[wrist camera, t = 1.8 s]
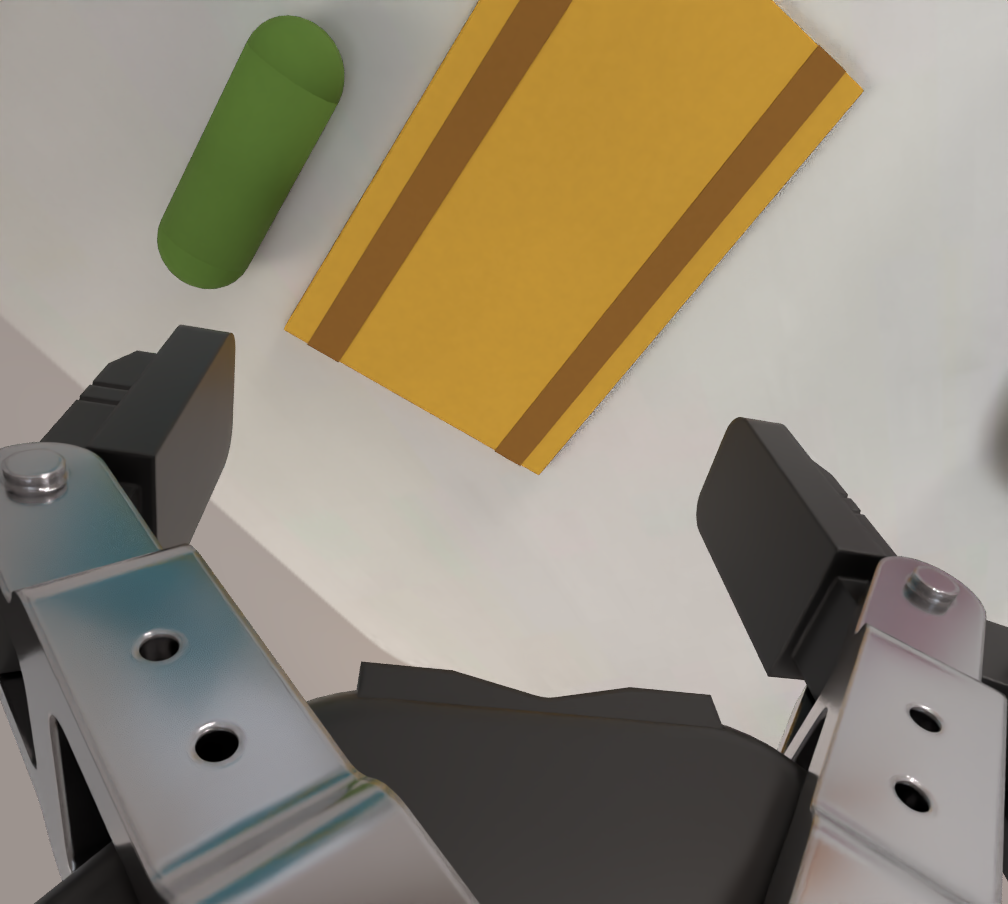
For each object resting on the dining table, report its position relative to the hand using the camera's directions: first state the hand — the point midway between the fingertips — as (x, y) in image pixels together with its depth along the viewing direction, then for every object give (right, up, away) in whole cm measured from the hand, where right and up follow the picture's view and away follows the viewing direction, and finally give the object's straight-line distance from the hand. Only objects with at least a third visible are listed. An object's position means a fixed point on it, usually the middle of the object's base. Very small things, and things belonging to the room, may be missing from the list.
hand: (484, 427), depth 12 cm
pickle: (-10, +12, +19) cm, 24 cm away
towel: (+3, +10, +21) cm, 23 cm away
